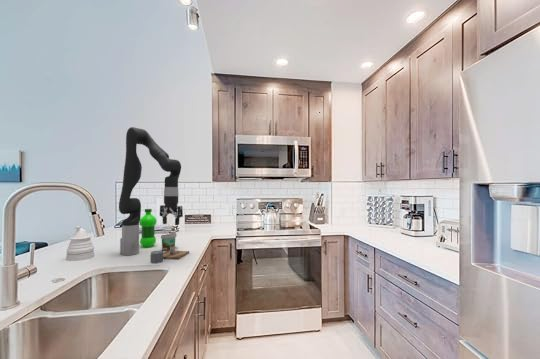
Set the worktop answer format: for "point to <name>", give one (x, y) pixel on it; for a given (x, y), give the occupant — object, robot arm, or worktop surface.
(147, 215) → the plastic bottle
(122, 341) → the worktop surface
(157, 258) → the cap
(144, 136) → the robot arm
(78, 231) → the honey pot
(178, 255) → the stub board
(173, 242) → the food container
